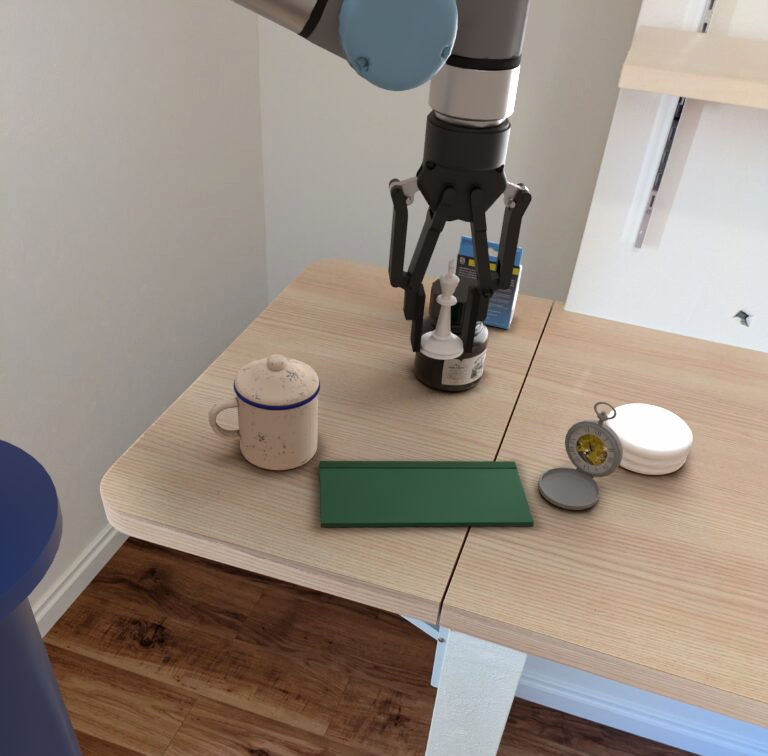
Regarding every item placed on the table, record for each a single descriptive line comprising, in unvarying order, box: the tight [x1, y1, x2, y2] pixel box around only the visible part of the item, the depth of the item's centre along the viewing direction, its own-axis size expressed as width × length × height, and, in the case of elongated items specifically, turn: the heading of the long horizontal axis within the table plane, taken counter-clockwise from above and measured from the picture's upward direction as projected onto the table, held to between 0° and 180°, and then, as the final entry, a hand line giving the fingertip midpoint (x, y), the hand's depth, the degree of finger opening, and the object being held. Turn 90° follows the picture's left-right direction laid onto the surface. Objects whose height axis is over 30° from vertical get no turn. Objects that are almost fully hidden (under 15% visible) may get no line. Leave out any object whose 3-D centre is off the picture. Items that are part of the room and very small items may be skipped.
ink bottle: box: [413, 276, 490, 392], centre depth 100 cm, size 10×9×12 cm
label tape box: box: [454, 234, 524, 330], centre depth 111 cm, size 9×4×12 cm, turn 72°
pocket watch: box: [538, 401, 623, 511], centre depth 85 cm, size 8×8×10 cm
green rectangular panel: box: [318, 460, 535, 528], centre depth 85 cm, size 22×10×1 cm, turn 94°
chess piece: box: [420, 258, 463, 360], centre depth 83 cm, size 5×5×10 cm
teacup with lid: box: [208, 353, 321, 471], centre depth 86 cm, size 12×9×12 cm
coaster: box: [603, 403, 694, 476], centre depth 93 cm, size 10×10×4 cm
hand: (440, 345), depth 86 cm, fingers closed on chess piece, 5 cm apart
